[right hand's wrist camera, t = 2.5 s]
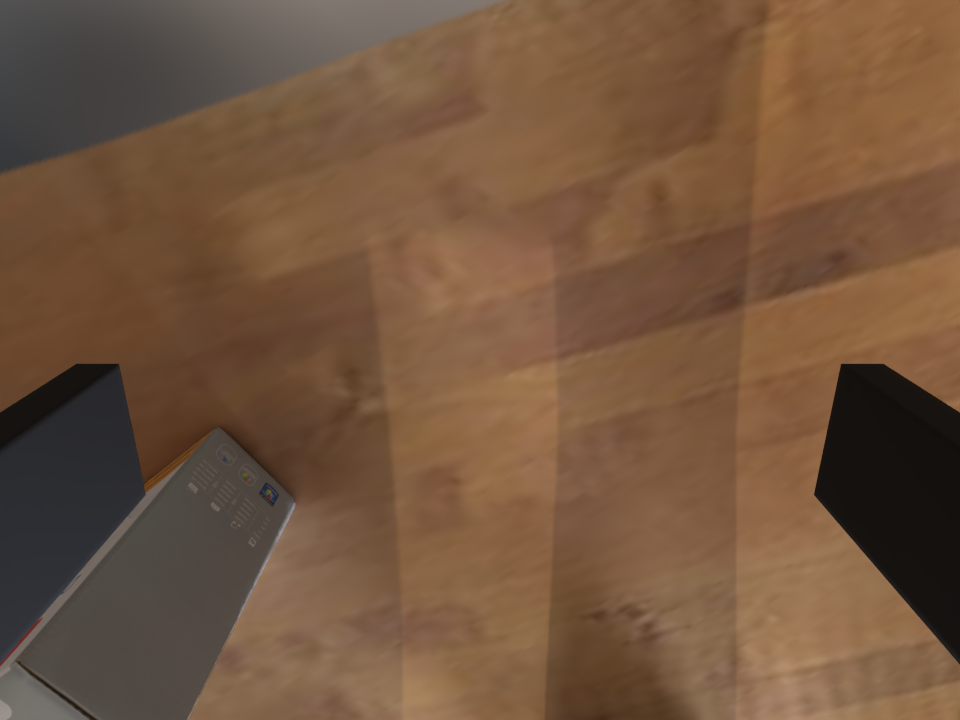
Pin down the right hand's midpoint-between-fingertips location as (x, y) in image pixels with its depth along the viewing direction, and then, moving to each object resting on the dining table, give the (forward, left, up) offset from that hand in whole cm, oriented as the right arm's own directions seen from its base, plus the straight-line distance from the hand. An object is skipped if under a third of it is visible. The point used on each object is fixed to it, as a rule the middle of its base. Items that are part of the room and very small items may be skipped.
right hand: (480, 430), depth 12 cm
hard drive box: (-21, +21, -28) cm, 41 cm away
